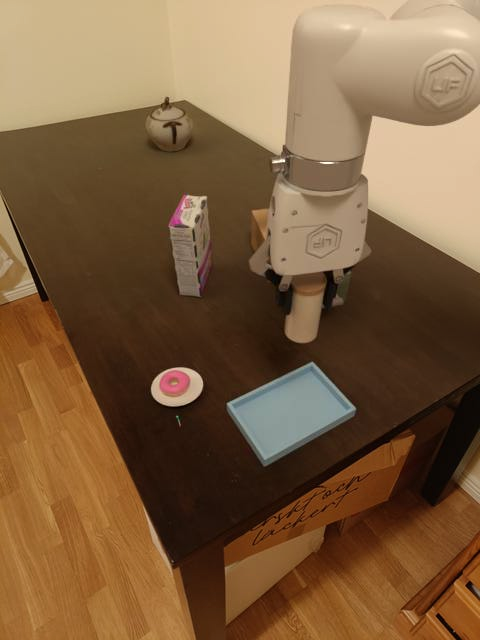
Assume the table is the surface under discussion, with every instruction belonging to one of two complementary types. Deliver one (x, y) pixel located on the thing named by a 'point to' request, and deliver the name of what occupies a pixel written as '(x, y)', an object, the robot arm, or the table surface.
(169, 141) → the sugar bowl
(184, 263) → the candy bar box
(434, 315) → the table surface
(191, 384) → the donut
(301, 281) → the spice pot
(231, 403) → the tray
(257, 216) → the cabinet
